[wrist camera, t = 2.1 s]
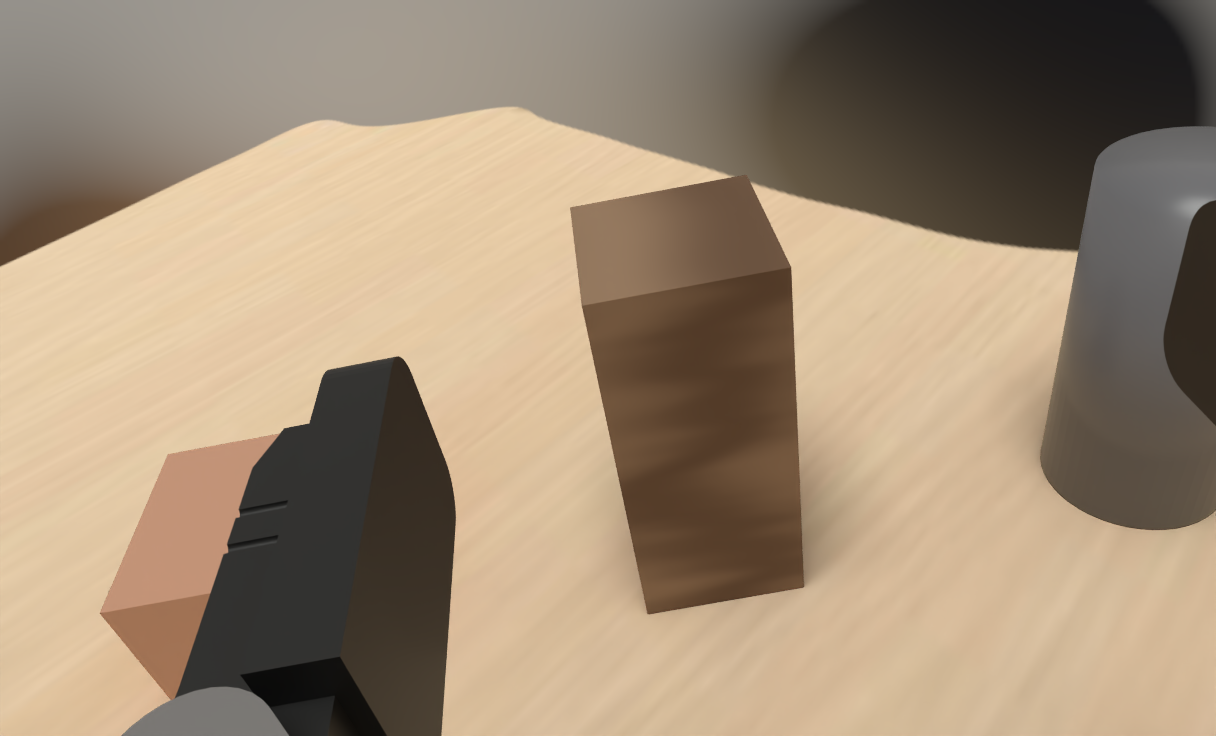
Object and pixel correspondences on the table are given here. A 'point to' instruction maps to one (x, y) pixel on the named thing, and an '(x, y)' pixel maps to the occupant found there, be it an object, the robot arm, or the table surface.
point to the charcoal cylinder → (1132, 343)
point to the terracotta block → (179, 555)
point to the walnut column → (697, 387)
